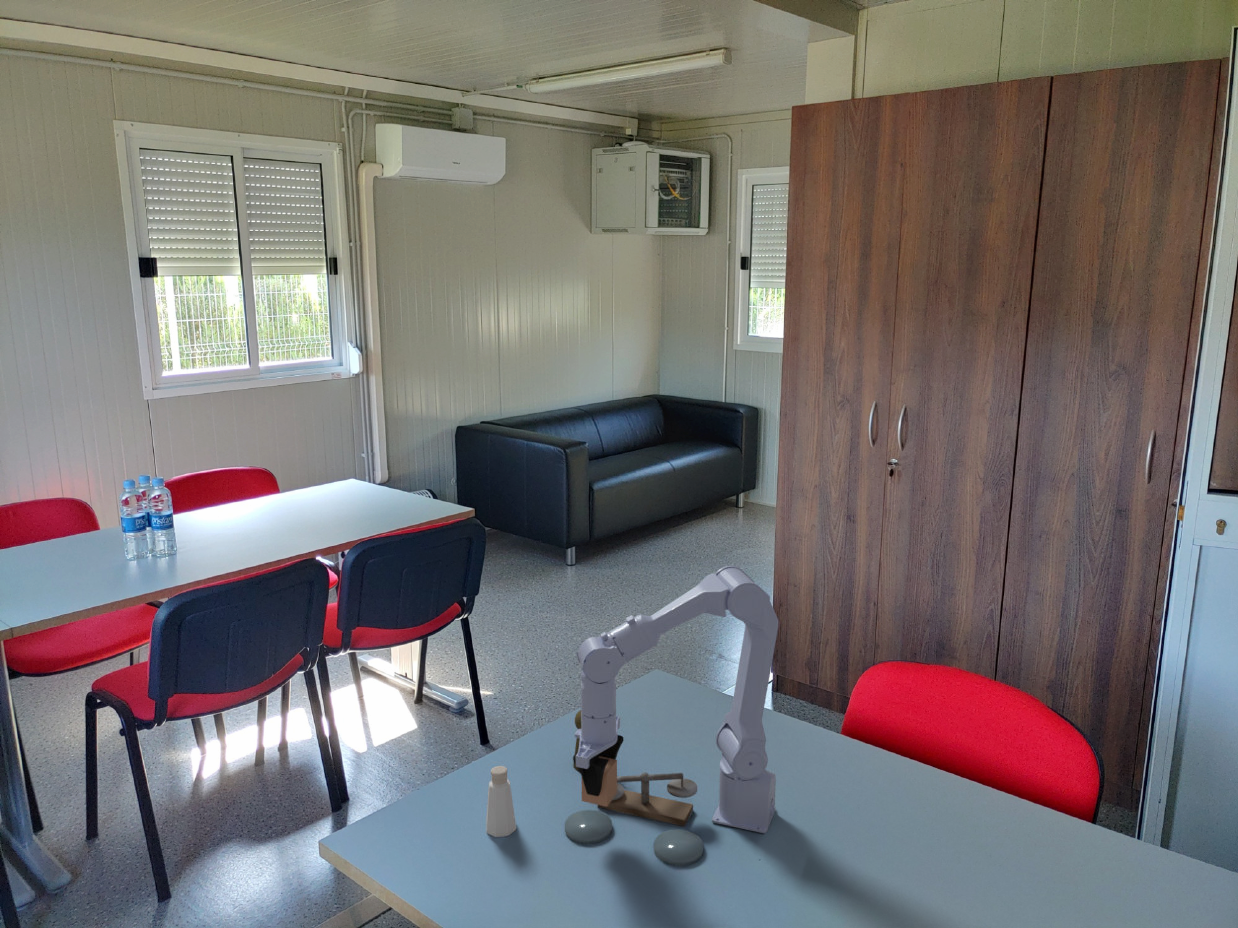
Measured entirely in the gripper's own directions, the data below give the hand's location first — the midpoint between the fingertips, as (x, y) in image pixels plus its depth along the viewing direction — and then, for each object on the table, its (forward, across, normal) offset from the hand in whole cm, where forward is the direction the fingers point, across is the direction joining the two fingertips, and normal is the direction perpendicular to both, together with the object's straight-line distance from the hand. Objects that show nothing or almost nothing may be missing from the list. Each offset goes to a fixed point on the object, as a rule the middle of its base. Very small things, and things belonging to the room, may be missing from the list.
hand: (599, 785), depth 154 cm
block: (+2, 0, 0) cm, 2 cm away
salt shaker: (+9, +4, -16) cm, 19 cm away
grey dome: (+9, -1, -2) cm, 9 cm away
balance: (+9, -10, +5) cm, 14 cm away
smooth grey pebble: (+9, -1, +14) cm, 16 cm away
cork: (+9, -20, -10) cm, 24 cm away
